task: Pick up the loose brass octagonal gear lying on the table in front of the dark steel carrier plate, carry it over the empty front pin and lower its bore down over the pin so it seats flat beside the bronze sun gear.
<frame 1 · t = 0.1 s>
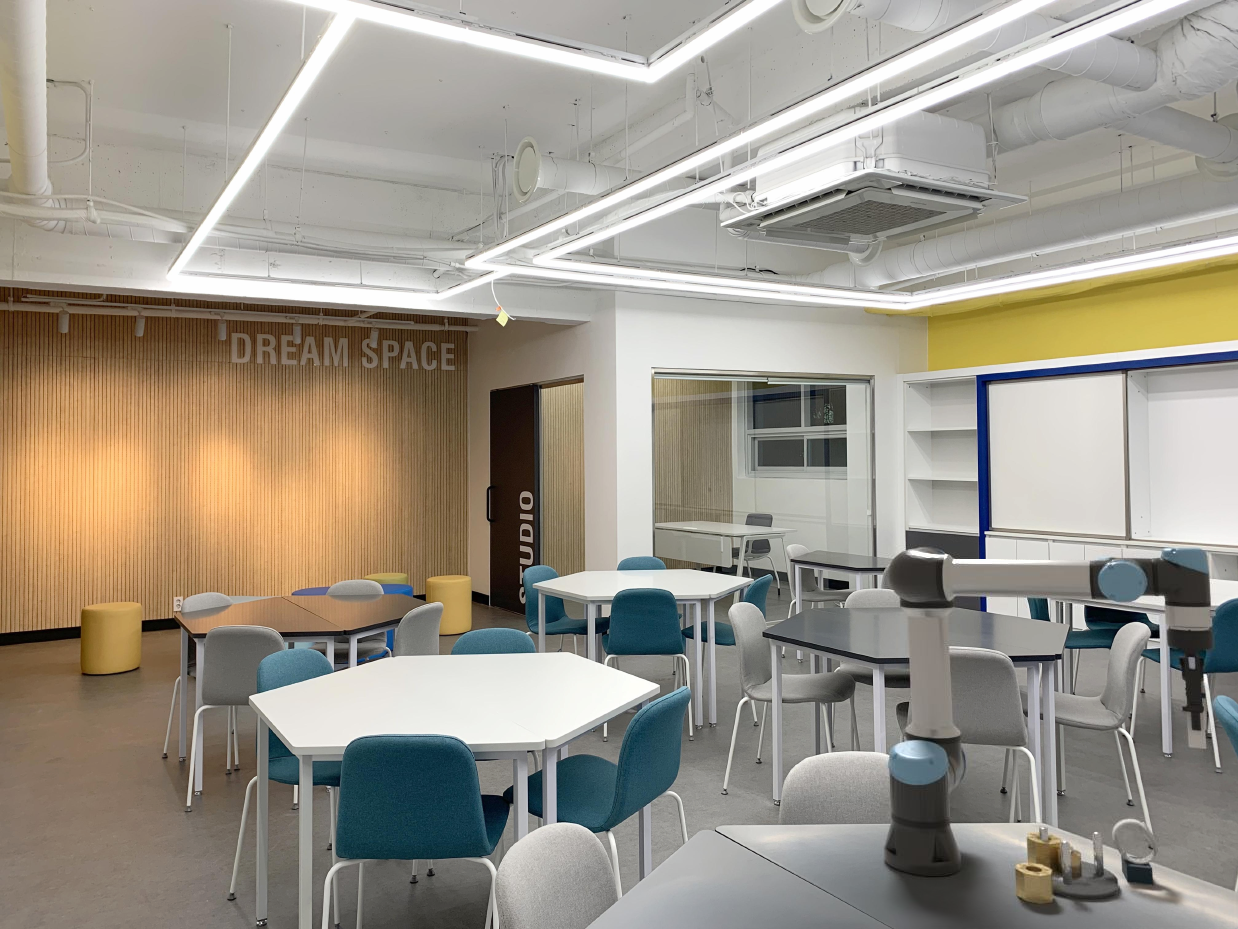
hand: (1196, 739, 163), 28 cm above the table, fingers open, 13 cm apart
planet gear: (1035, 896, 159), on the table
carrier: (1070, 881, 166), on the table
watch: (1137, 879, 167), on the table
planet gear b: (1045, 863, 171), resting on carrier
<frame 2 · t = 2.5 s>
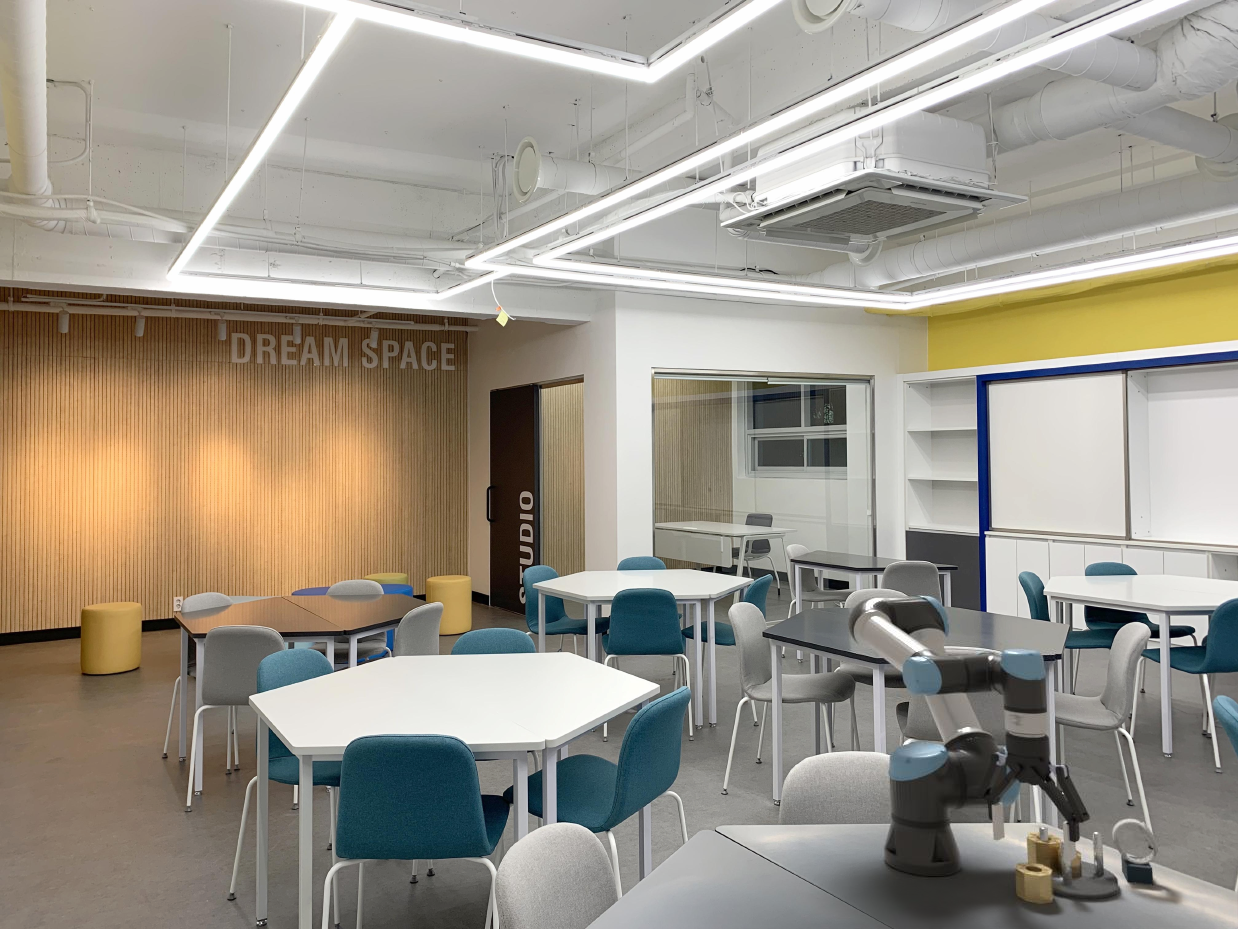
hand: (1033, 848, 160), 9 cm above the table, fingers open, 13 cm apart
nothing on the table moved.
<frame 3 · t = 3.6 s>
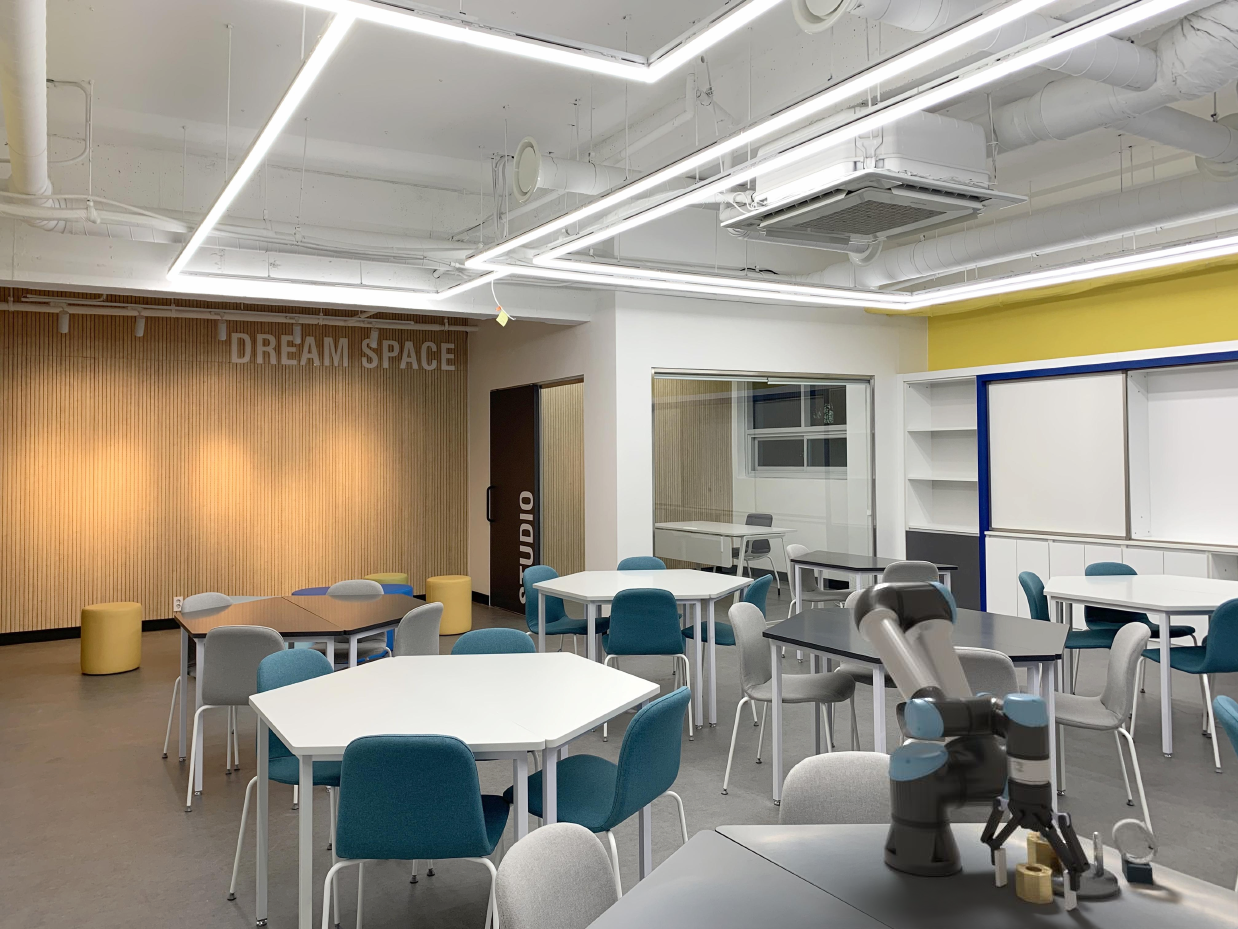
hand: (1035, 896, 159), 0 cm above the table, fingers open, 12 cm apart
nothing on the table moved.
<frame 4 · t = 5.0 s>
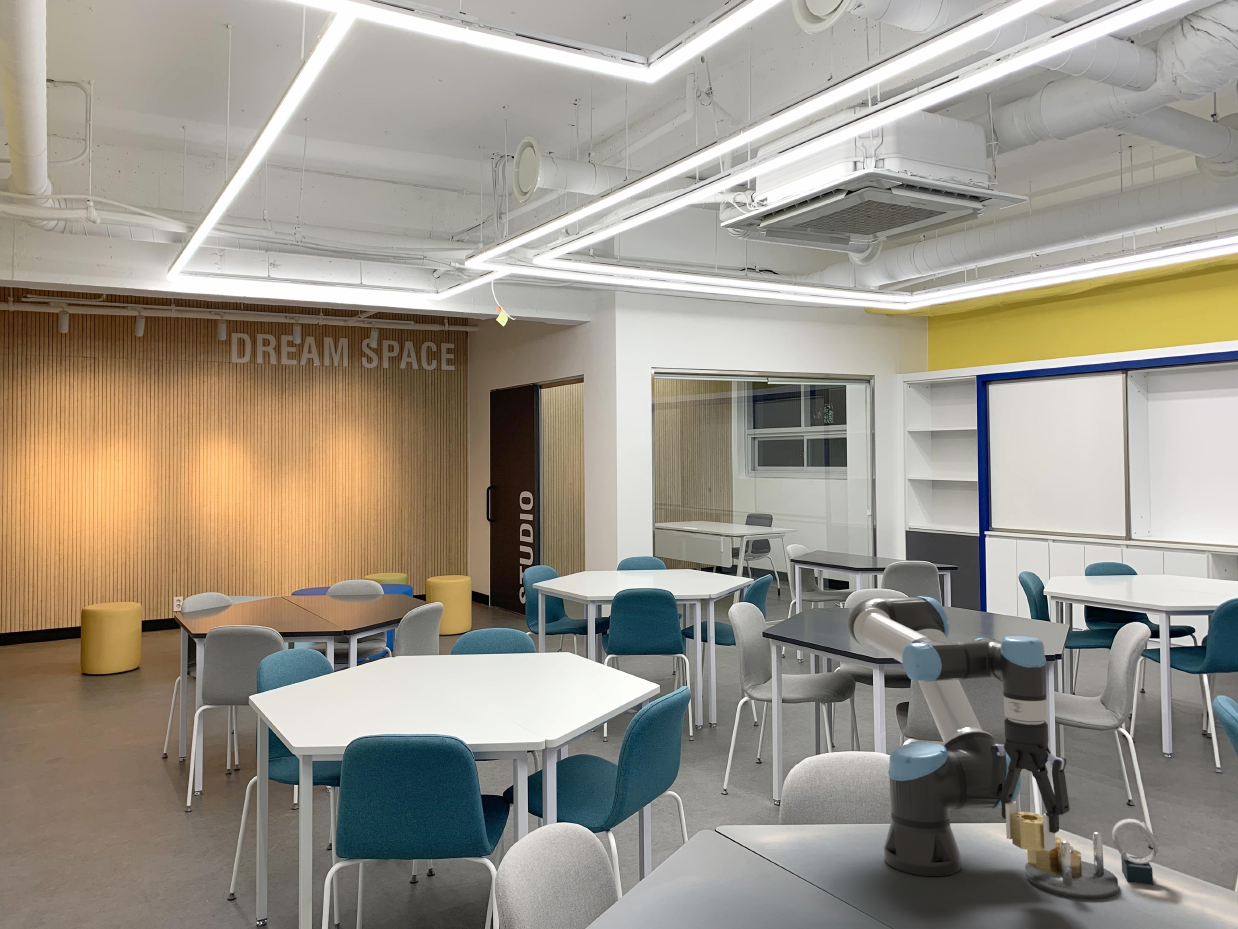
hand: (1030, 842, 161), 10 cm above the table, fingers closed on planet gear, 6 cm apart
planet gear: (1030, 844, 160), point 9 cm above the table, touching gripper
everything else where it was.
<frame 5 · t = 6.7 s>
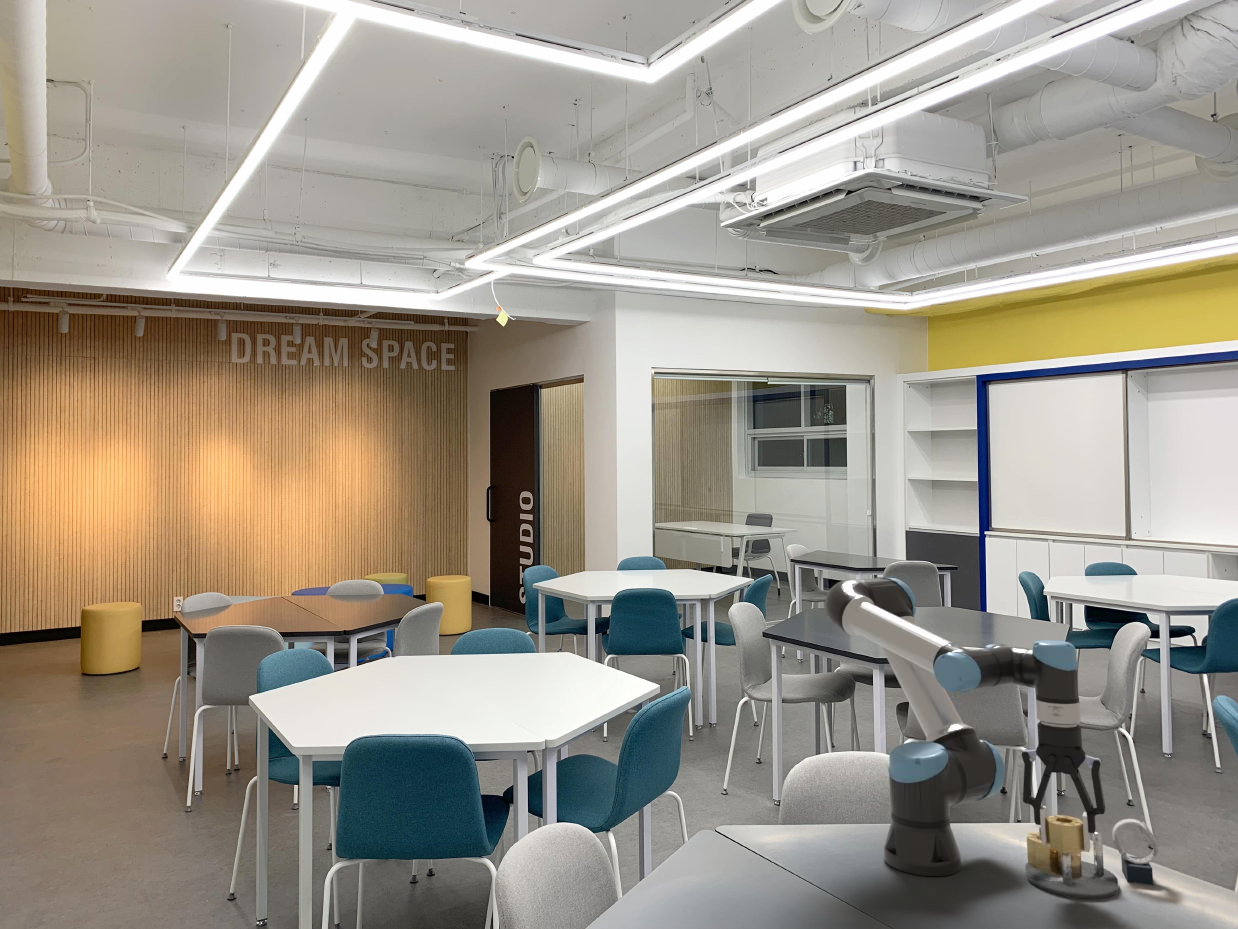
hand: (1065, 845, 162), 8 cm above the table, fingers closed on planet gear, 6 cm apart
planet gear: (1066, 847, 162), point 8 cm above the table, touching gripper
everything else where it was.
when the fingers open (3 cm above the table, at t = 8.5 s): planet gear drops 1 cm, resting on carrier.
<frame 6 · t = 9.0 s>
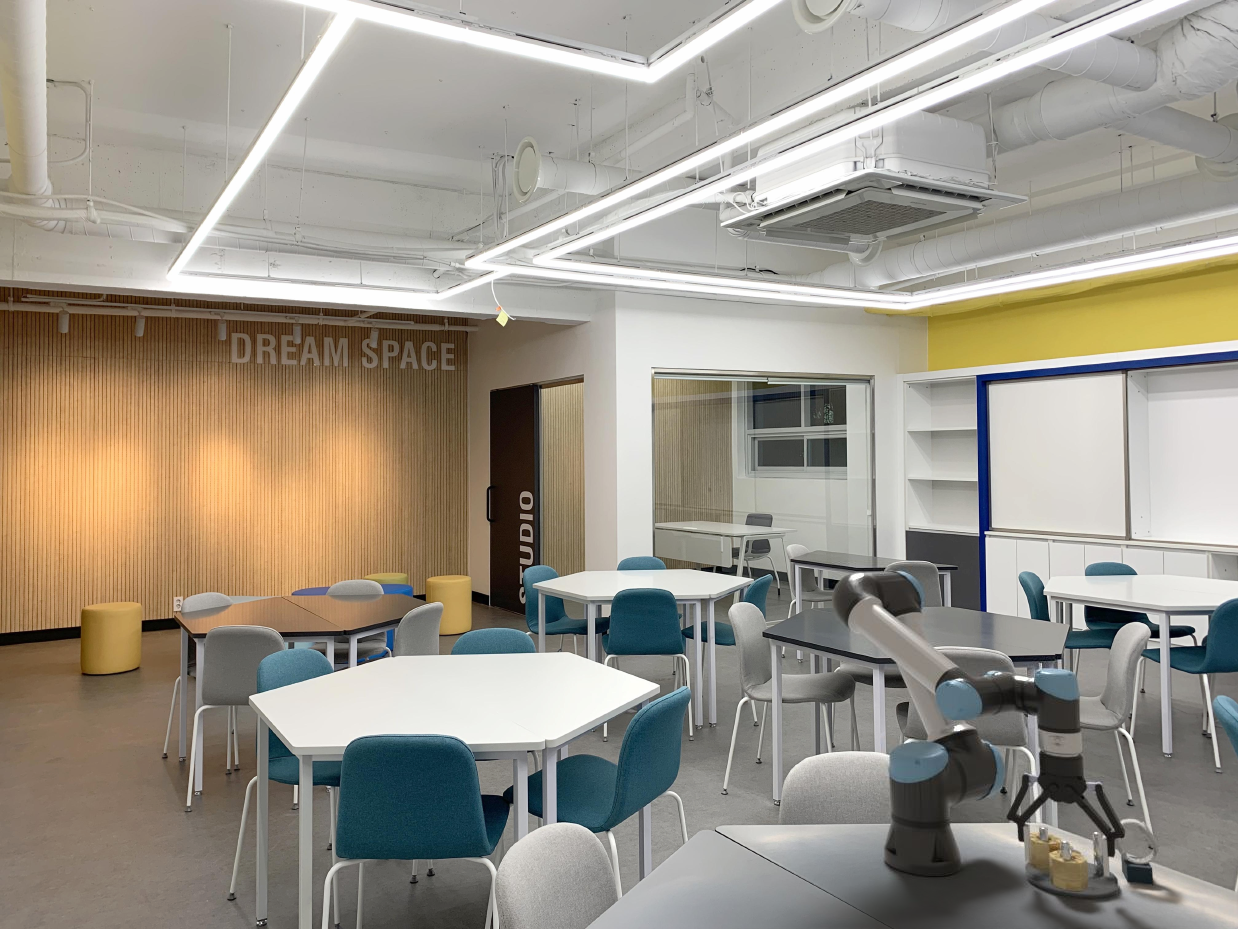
hand: (1066, 866, 162), 5 cm above the table, fingers open, 13 cm apart
planet gear: (1069, 884, 161), point 1 cm above the table, touching carrier
everything else where it was.
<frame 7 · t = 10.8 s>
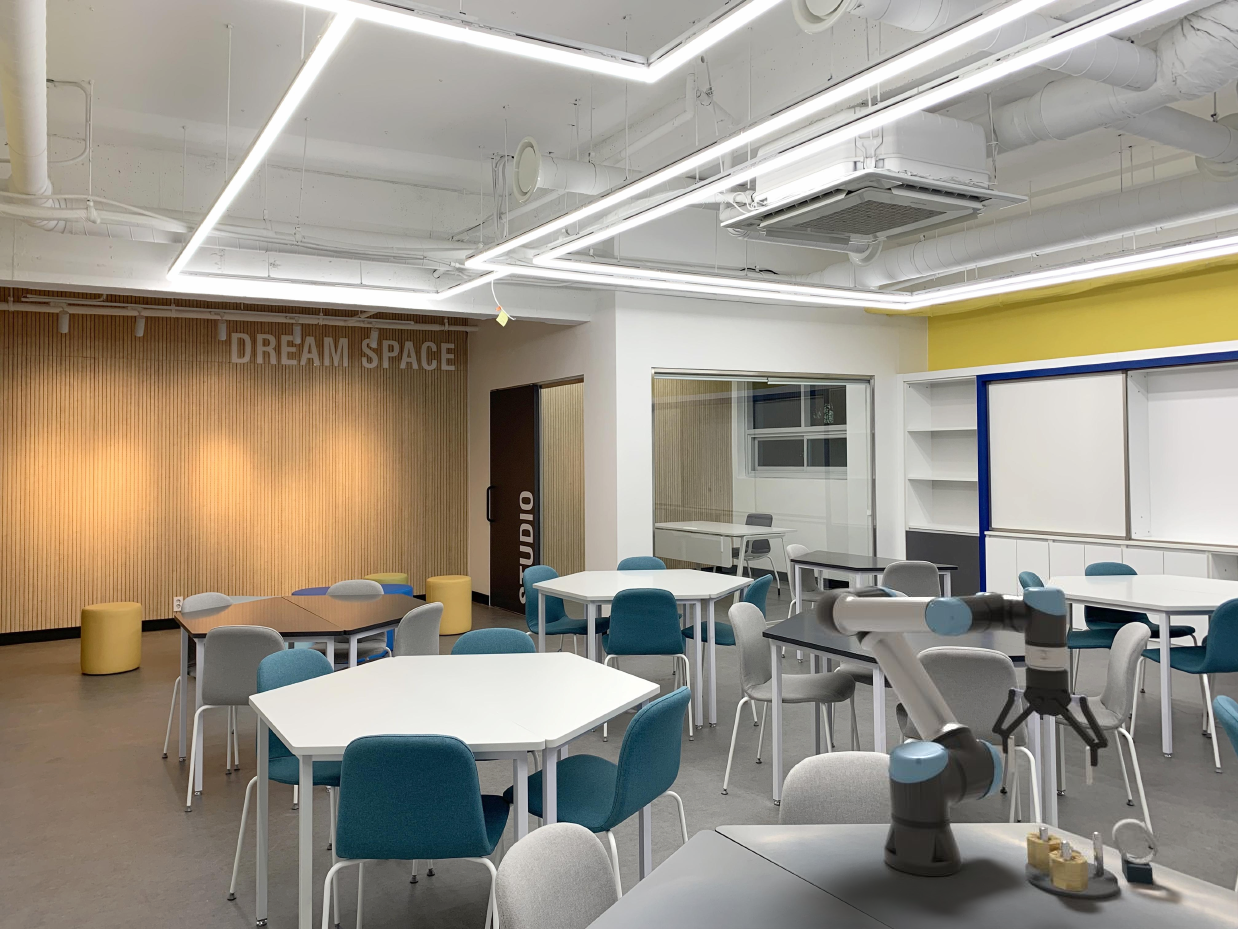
hand: (1049, 777, 166), 20 cm above the table, fingers open, 13 cm apart
nothing on the table moved.
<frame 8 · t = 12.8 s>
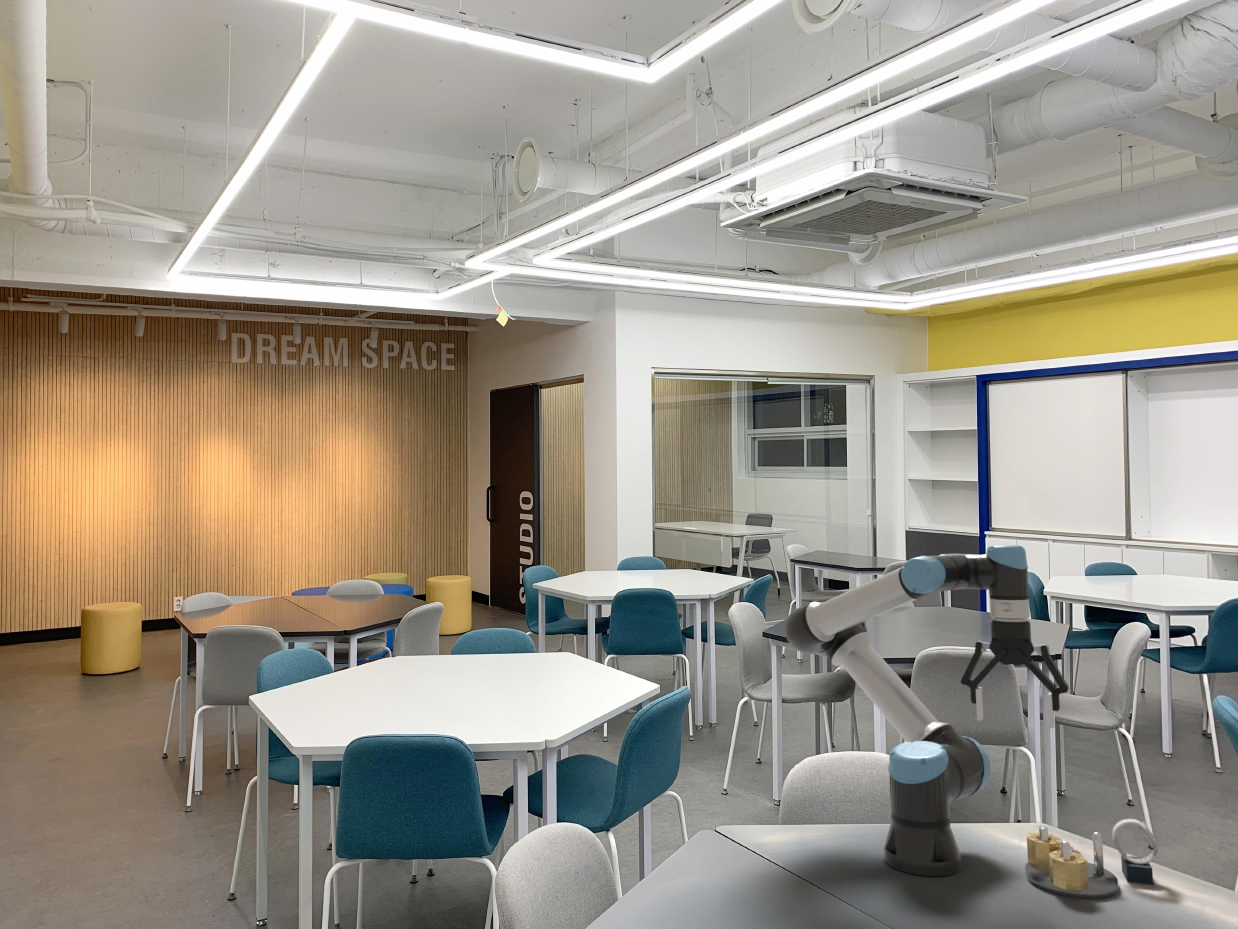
hand: (1015, 723, 175), 29 cm above the table, fingers open, 13 cm apart
nothing on the table moved.
at the end: planet gear 0.4 cm from the target spot on the carrier, point 1.5 cm above the carrier's base; planet gear tilted 0°; the gripper is holding nothing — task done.
